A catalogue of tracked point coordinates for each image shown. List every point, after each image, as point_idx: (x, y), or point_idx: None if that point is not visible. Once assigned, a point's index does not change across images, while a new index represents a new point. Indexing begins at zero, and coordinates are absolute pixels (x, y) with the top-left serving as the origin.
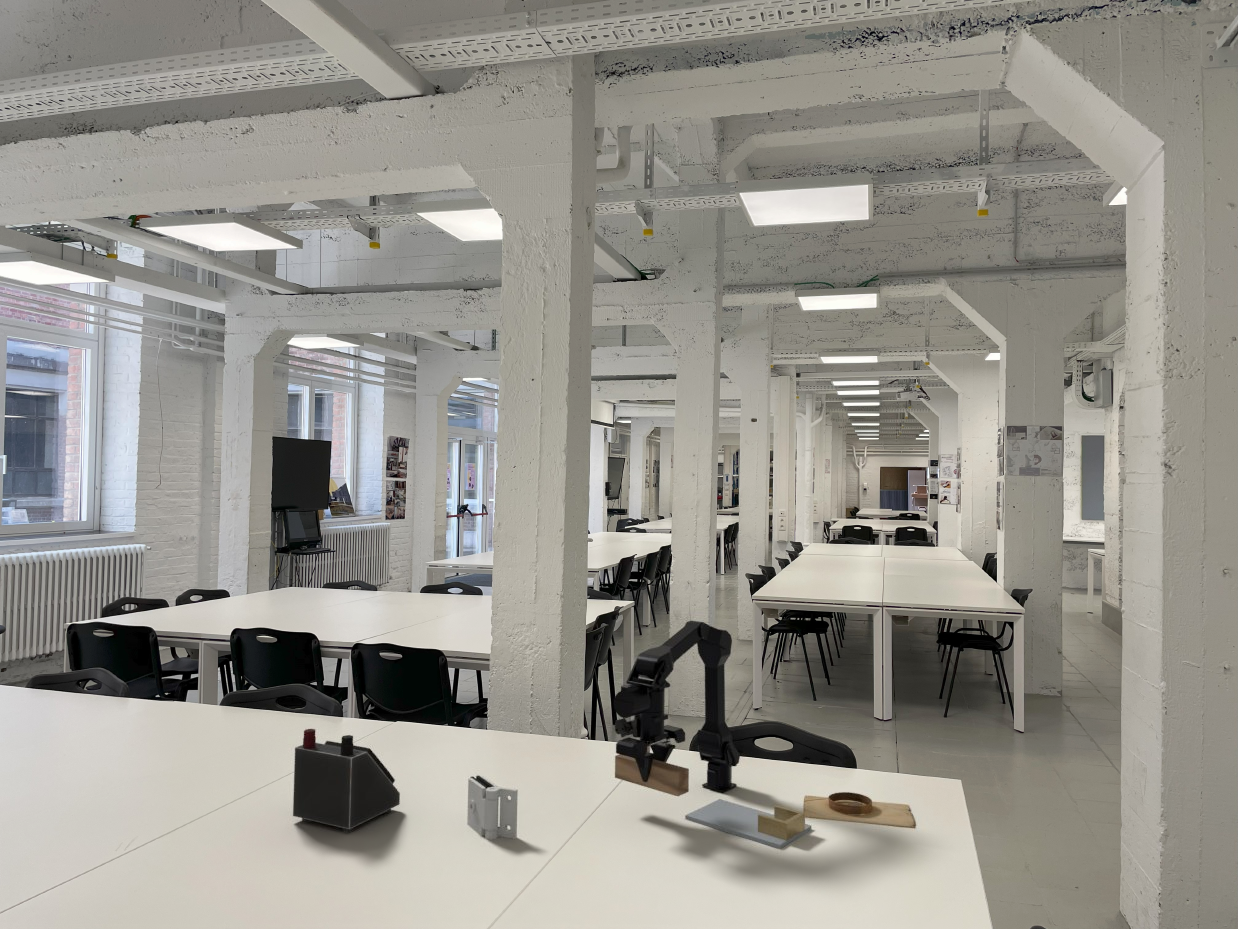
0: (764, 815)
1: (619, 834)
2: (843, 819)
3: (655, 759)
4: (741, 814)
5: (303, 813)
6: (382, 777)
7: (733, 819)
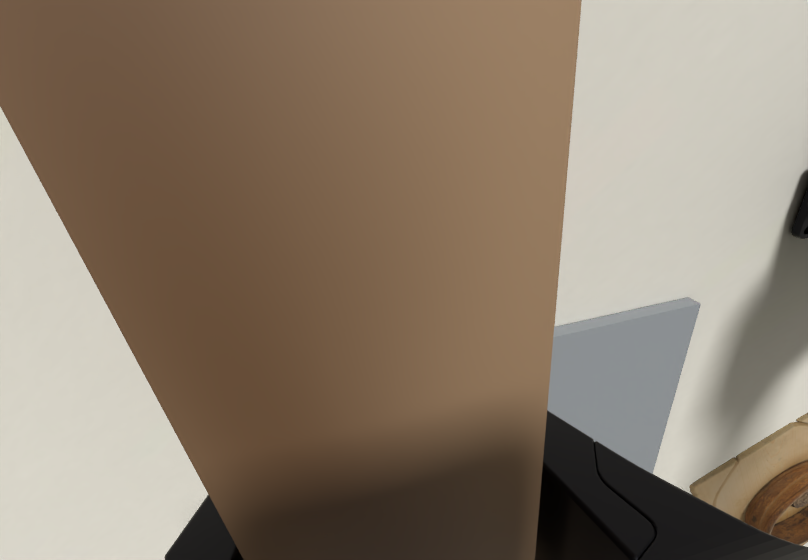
0: None
1: (74, 325)
2: None
3: (554, 514)
4: (602, 438)
5: None
6: None
7: None
